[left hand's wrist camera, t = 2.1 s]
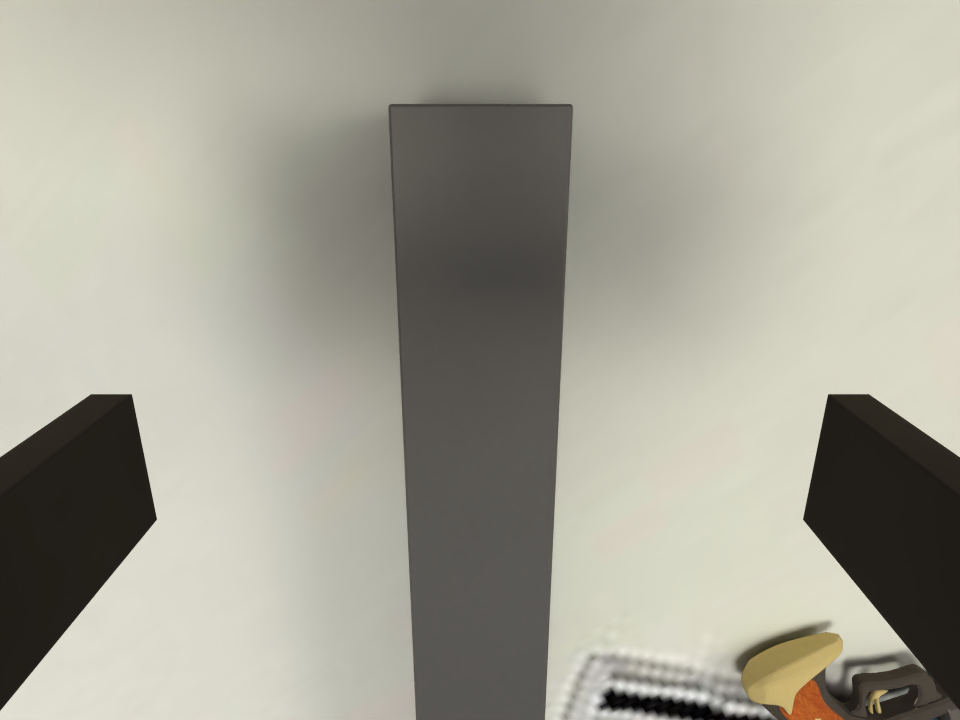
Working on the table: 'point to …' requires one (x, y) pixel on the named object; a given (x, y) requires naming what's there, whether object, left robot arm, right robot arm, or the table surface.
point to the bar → (480, 393)
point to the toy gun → (813, 710)
